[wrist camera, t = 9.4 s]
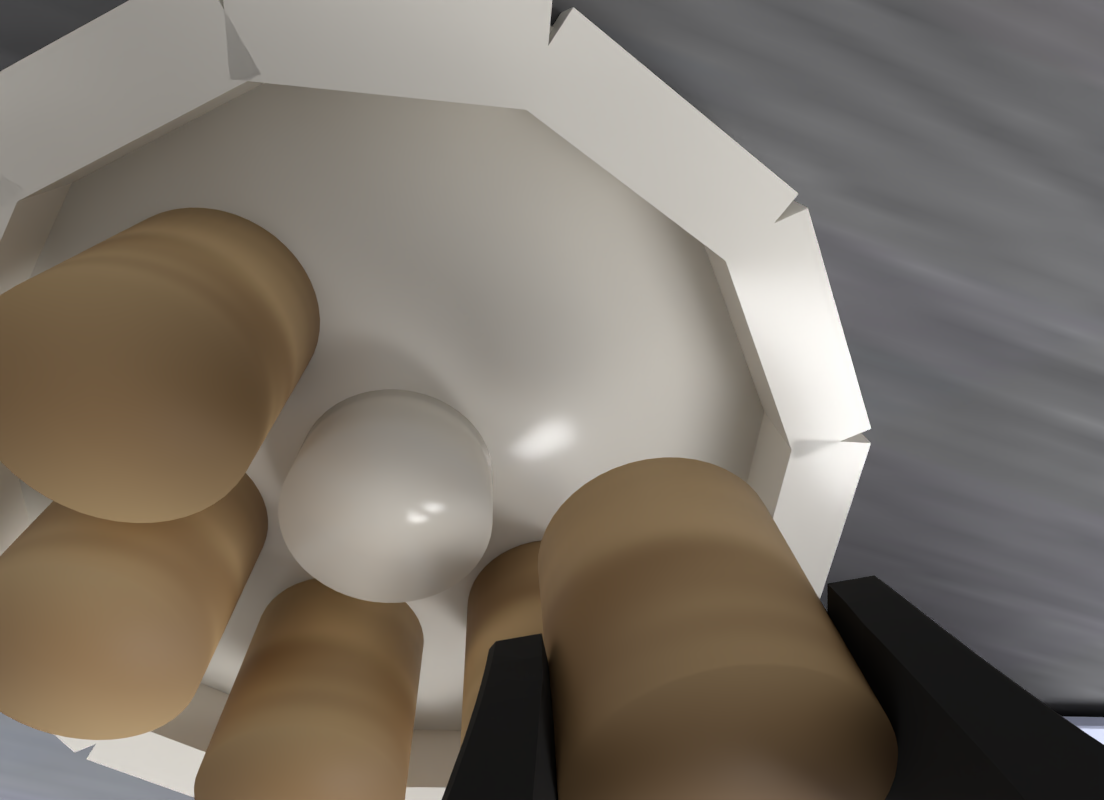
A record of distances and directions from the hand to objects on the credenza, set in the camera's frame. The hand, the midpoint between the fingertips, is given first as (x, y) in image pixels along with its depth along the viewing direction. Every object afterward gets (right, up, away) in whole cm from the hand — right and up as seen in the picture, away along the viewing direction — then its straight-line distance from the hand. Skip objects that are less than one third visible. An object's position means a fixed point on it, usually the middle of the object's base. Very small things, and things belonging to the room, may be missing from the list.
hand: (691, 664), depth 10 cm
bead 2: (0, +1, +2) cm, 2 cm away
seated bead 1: (-8, +5, +4) cm, 10 cm away
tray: (-5, +2, +6) cm, 8 cm away
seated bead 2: (-10, +1, +6) cm, 11 cm away
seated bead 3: (-7, -2, +7) cm, 10 cm away
